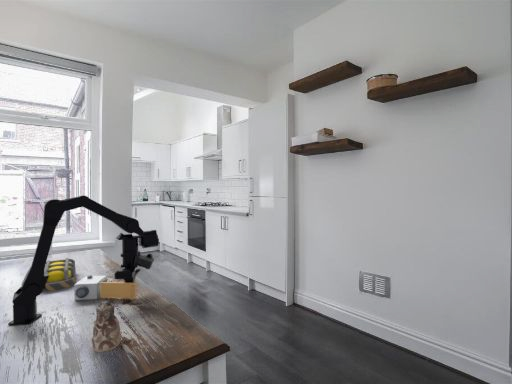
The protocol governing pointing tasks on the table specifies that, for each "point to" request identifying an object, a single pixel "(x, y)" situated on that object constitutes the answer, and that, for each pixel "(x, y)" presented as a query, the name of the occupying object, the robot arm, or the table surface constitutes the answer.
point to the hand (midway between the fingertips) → (131, 289)
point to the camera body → (88, 287)
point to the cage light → (60, 274)
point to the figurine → (106, 328)
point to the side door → (116, 290)
